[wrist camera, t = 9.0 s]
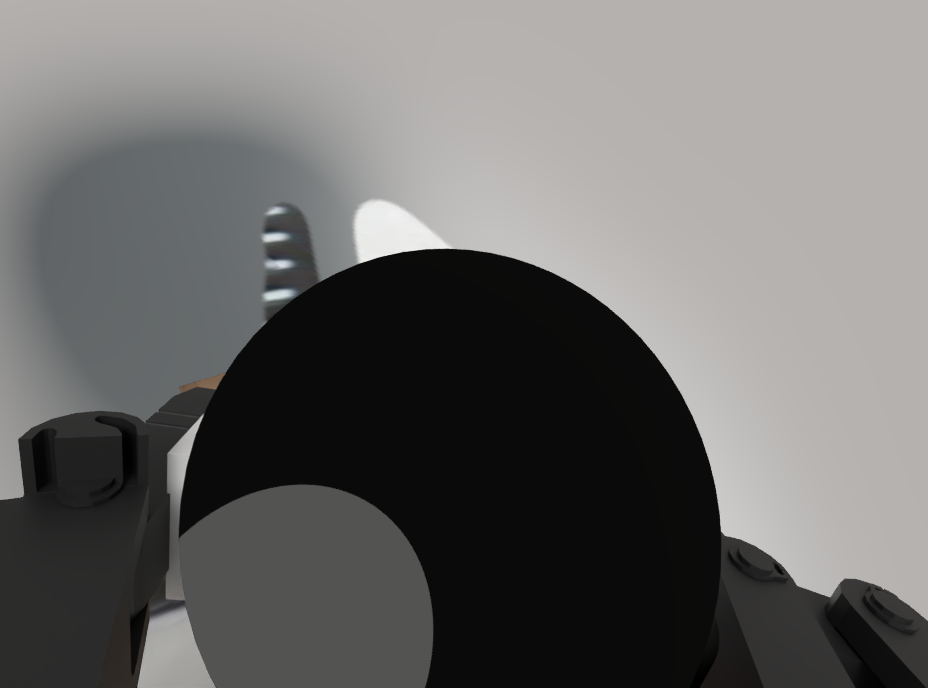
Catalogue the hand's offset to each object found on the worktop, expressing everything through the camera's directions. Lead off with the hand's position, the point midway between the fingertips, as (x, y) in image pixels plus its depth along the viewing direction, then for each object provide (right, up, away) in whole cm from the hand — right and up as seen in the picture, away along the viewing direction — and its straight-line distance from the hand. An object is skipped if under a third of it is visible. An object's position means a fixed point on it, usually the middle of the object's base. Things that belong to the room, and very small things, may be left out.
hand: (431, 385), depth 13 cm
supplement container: (-1, -5, +2) cm, 5 cm away
